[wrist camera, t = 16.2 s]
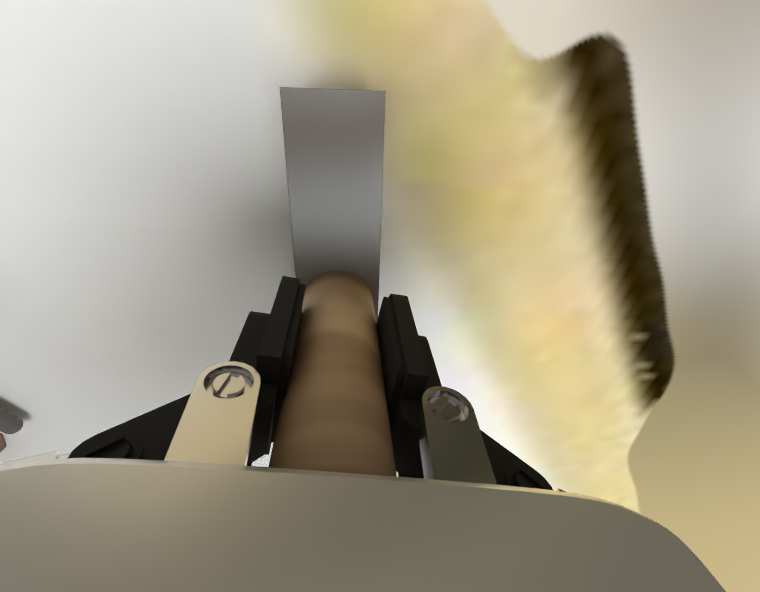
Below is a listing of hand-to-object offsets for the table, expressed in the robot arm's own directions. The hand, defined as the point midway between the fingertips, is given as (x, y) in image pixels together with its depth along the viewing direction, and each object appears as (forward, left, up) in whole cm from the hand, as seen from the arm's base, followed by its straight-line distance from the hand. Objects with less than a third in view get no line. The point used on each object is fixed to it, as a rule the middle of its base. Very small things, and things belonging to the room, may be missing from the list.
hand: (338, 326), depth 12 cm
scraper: (0, 0, -7) cm, 7 cm away
